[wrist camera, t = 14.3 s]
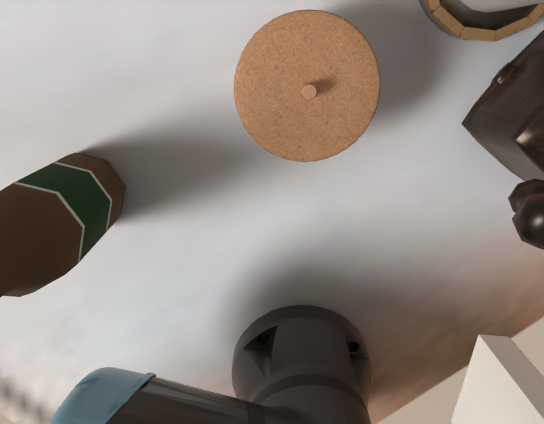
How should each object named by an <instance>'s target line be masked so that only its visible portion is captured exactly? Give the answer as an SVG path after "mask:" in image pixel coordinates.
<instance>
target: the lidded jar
mask: <svg viewBox="0 0 544 424" xmlns="http://www.w3.org/2000/svg"><path fill="white" fill-rule="evenodd" d="M379 94H380V73H379V66H378V63H377V60H376V56H375V54H374V52H373V50H372V48H371V46H370V44H369V42H368V41H367V40H366V38H365V37H364V36H363V34H362V33H361V32H360V31H359V30H358V29H357V28H356V27H355V26H354V25H352V24H351V23H349V22H348V21H346V20H345V19H343V18H341V17H339V16H337V15H335V14H332V13H328V12H325V11H320V10H298V11H294V12H290V13H286V14H284V15H281V16H279V17H277V18H275V19H273V20H271V21H270V22H268V23H267V24H265V25H264V26H263V27H262V28H261V29H260V30H259V31H257V32H256V33H255V34H254V36H253V37H252V38H251V39H250V41H249V42H248V43H247V45H246V47H245V49H244V50H243V52H242V54H241V56H240V59H239V62H238V64H237V68H236V73H235V78H234V96H235V103H236V107H237V111H238V114H239V116H240V119H241V121H242V123H243V125H244V127H245V128H246V130H247V131H248V133H249V134H250V135H251V136H252V138H253V139H254V140H255V141H256V142H257V143H258V144H259V145H261V146H262V147H263V148H264V149H266V150H267V151H269V152H271V153H272V154H274V155H277V156H279V157H282V158H284V159H288V160H293V161H302V162H308V161H318V160H322V159H326V158H329V157H331V156H334V155H336V154H338V153H340V152H342V151H343V150H345V149H347V148H348V147H349V146H350V145H352V144H353V143H354V142H355V141H356V140H357V139H358V138H359V137H360V136H361V135H362V134H363V133H364V131H365V130H366V128H367V127H368V125H369V124H370V122H371V120H372V118H373V116H374V114H375V111H376V108H377V104H378V101H379Z"/></svg>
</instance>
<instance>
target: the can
mask: <svg viewBox="0 0 544 424" xmlns="http://www.w3.org/2000/svg"><path fill="white" fill-rule="evenodd" d="M460 1H461V2H462V3H464V4H465V5H467V6H468V7H470V8H471V9H473V10H477V11H481V12H485V13H486V12H495V11H503V10H508V9H513V8H519V7H524V6H529V5H535V4H540V3H544V0H460Z"/></svg>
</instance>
